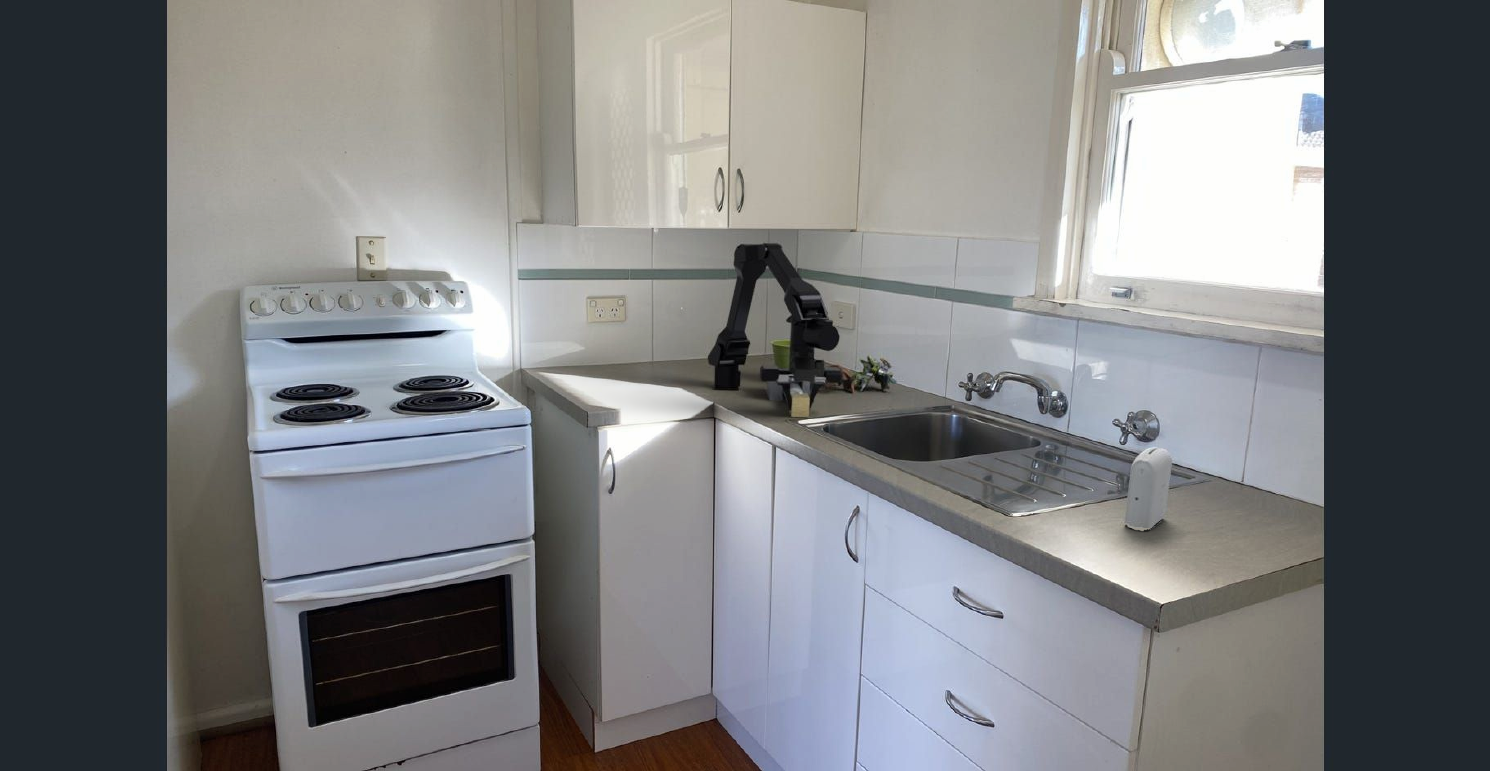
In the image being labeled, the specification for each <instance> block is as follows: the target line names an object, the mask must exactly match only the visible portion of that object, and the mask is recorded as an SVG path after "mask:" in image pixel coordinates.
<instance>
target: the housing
mask: <svg viewBox="0 0 1490 771" xmlns="http://www.w3.org/2000/svg"><path fill="white" fill-rule="evenodd" d="M778 369H782V370H789V368H778ZM788 380H789V382H790V383H795V384H797V385H799V386H800V388H801V390H802V391H803V393H807V394H808V396H809V388H810V382H809V381H801V382H797V381H795V380H794V378H789V379H788ZM766 394H767V397H768V399H769V401H770V402H782V401H783V394H784V391H783V388H782V386H781V385H777V383H776V381H766ZM814 402H815V400H814V401H813V403H814Z"/></svg>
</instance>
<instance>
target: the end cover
mask: <svg viewBox="0 0 1490 771" xmlns="http://www.w3.org/2000/svg"><path fill="white" fill-rule="evenodd" d="M790 394H791V411H789V410H788V411H789V412H788V413H789V414H790V416H791V418H810V411H809V403H810V397H809V396H808V394H807V393H803V391H802V390H801V388H800V386H799V385H797V384H795V383H790ZM783 395H784V397H785V394H784V393H783ZM785 399H786V397H785Z"/></svg>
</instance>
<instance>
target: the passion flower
mask: <svg viewBox="0 0 1490 771" xmlns="http://www.w3.org/2000/svg"><path fill="white" fill-rule="evenodd" d="M879 360H880V361H881V362H880V361H878V360H877V359H876V358H873V357H872V356H871V355H869V354H868V355H867V356H866V360H865V359H863V358H859V362H860V363H861V364H863V365H862V366H863V369H862V371H858V372H856V373H853V372H851V370H850V369H846V371H847V372H848V373H849V374H851V378H852V380H853V385H854V386H855V385H856V387H857V388H859V387H860V386H861V389H860V391H859V393H861V392H862V391H863V390H864V388H865V387H866V386H868V384H869V383H870V381H871V380H872V379H873V378H874V382H875V383H876V384H878V385H879V384H880V388H881V390H882V391H884V390H886V391H887V390H890V386H889V384H890V383H891V384H893V385H894V384H895V385H896V384H897V382H898V381H897V380H896V379H894V373H893V372H890V371H889V369H890V370H891V368H893V366H892V365H891V363H890V362H889V360H887V359H885V358H884V357H882V358H881V357H880V359H879ZM868 374H871V376H870V377H869V378H868V377H867V375H868Z"/></svg>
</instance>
